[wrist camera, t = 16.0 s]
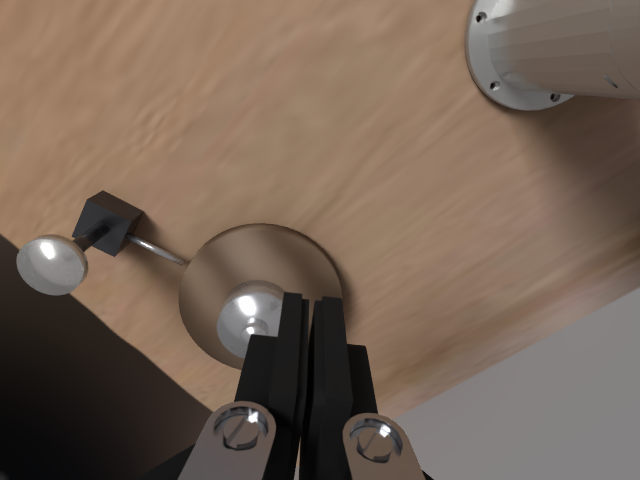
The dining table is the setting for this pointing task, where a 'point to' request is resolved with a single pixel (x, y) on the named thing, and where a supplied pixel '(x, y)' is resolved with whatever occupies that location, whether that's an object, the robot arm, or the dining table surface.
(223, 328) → the lid
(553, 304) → the dining table surface
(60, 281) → the lever with ball knob
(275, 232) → the turntable
